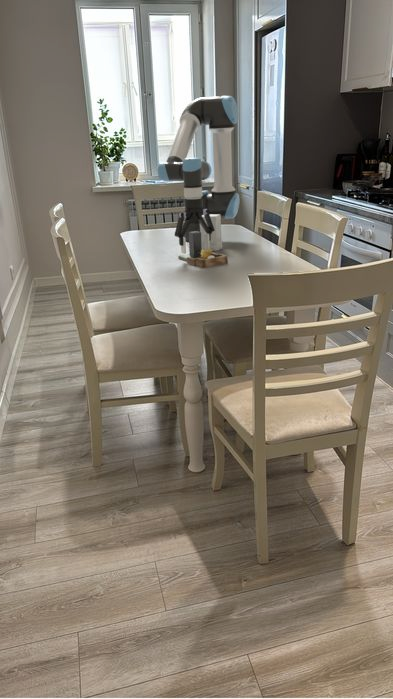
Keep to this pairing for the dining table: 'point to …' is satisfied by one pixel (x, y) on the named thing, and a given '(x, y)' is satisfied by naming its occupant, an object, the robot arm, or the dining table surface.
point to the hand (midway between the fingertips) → (195, 250)
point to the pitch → (205, 260)
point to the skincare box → (213, 233)
